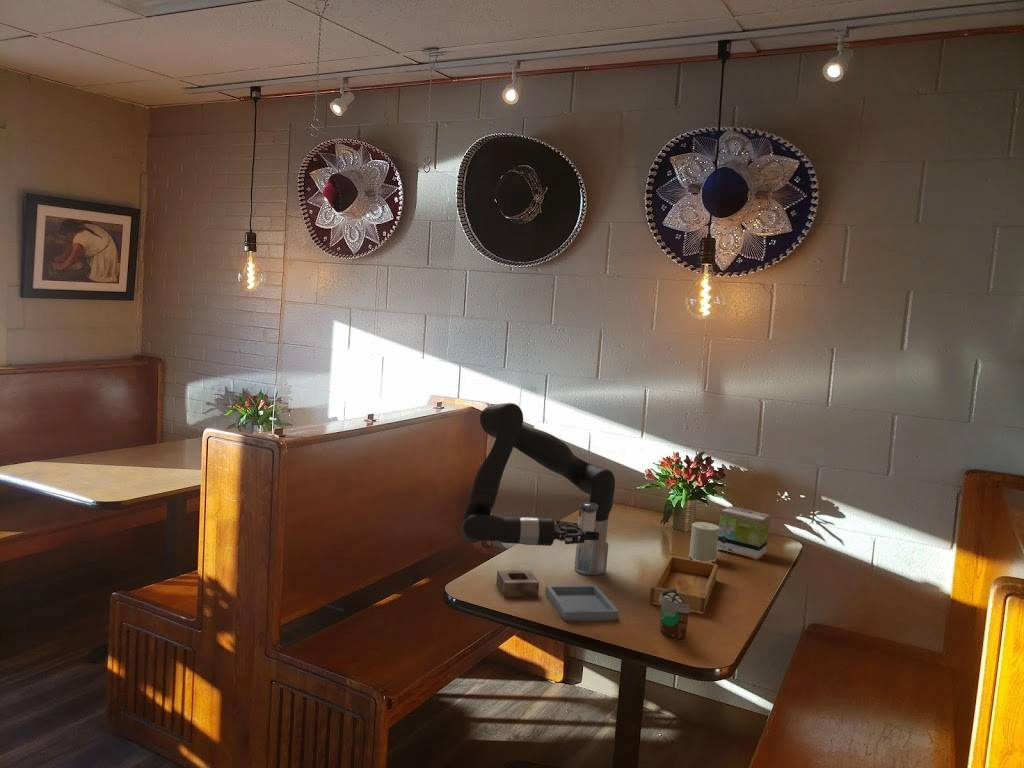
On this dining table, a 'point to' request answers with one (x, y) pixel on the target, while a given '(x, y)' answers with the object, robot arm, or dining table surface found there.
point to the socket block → (517, 583)
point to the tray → (686, 581)
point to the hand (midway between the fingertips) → (596, 533)
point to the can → (704, 541)
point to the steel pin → (586, 548)
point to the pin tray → (581, 603)
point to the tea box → (743, 531)
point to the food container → (673, 614)
